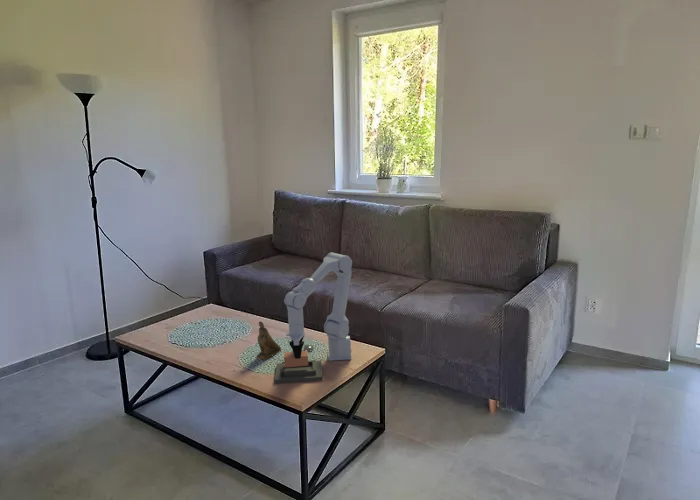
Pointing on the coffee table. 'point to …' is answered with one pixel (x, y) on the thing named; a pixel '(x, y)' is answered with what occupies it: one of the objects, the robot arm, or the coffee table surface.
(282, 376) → the stand
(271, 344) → the brown carved statuette
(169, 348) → the coffee table surface
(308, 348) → the domed chrome disc
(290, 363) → the orange knobbed block
